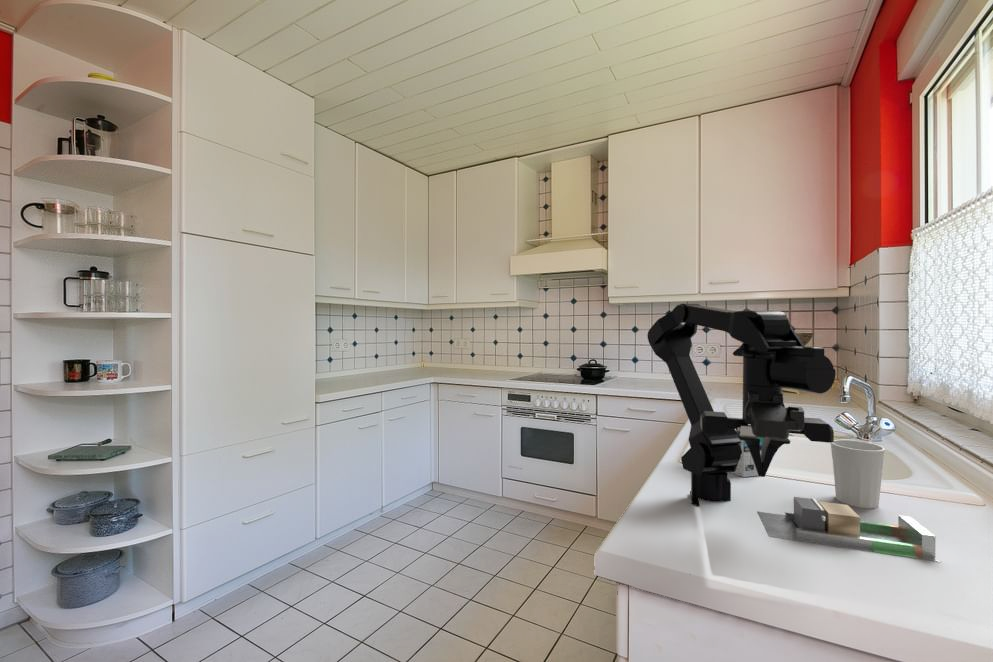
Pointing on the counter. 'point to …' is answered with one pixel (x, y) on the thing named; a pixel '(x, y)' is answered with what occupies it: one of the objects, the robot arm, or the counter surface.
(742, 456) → the light bulb box
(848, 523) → the block
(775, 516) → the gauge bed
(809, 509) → the plunger
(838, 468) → the cup
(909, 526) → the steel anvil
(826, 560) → the counter surface
